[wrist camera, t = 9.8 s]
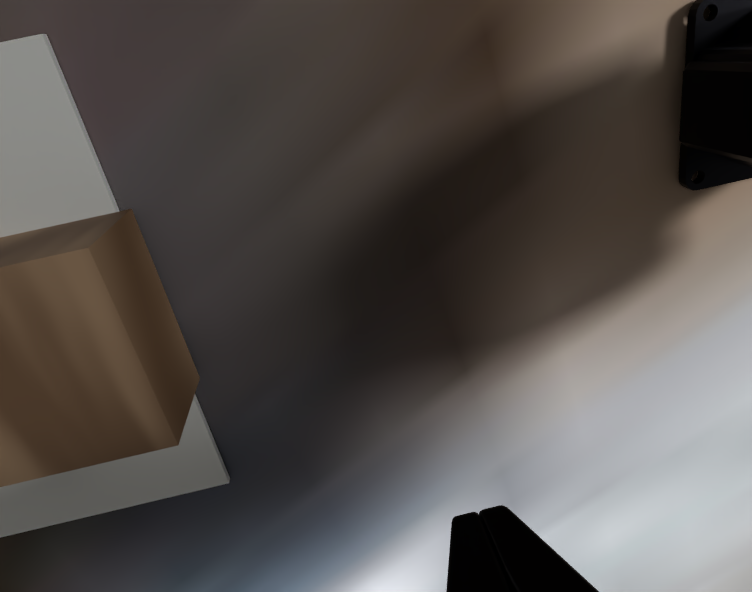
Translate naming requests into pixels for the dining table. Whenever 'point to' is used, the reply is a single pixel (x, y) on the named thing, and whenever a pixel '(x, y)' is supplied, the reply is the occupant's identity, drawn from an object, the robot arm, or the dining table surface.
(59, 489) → the mat
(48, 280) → the walnut block
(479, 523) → the robot arm
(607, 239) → the dining table surface
